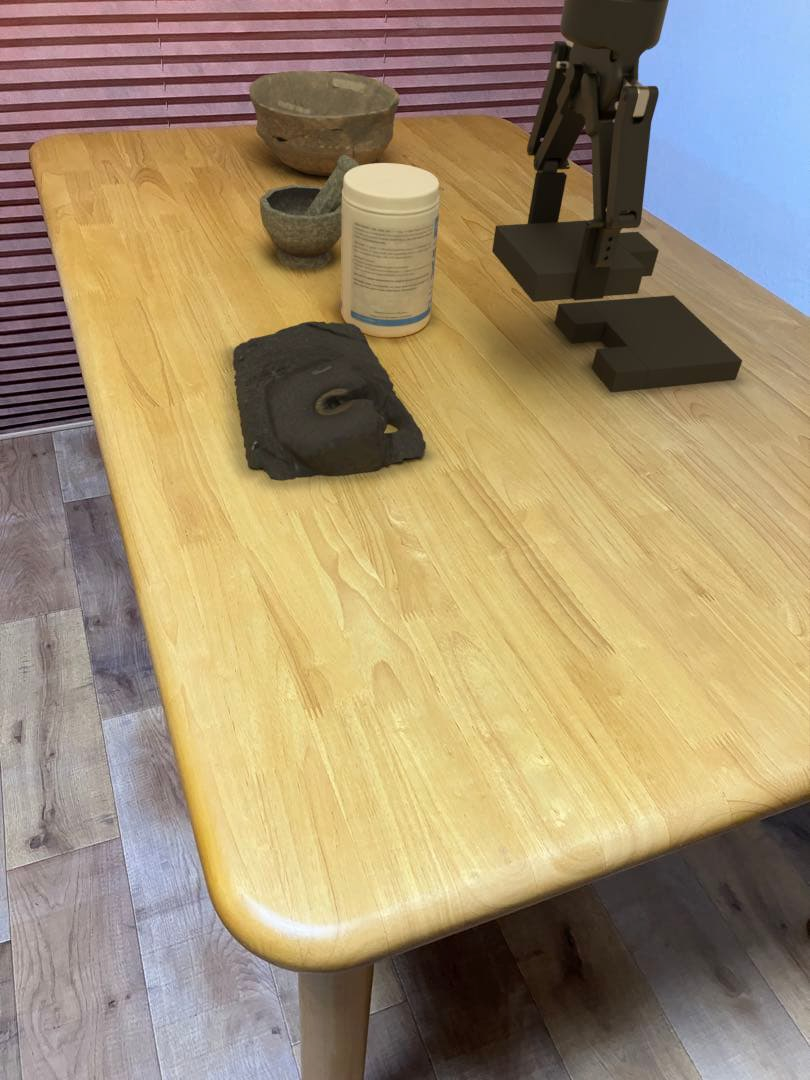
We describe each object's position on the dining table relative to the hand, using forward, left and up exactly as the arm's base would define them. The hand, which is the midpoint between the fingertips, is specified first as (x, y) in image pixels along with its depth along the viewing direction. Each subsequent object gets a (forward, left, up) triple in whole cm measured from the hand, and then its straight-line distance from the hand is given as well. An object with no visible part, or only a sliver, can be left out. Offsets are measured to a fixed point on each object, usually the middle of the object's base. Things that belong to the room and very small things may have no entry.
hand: (561, 269), depth 78 cm
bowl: (+9, -59, -12) cm, 61 cm away
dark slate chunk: (+22, +1, -12) cm, 25 cm away
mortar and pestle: (+17, -29, -12) cm, 36 cm away
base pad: (-13, -3, -11) cm, 17 cm away
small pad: (-2, 0, 0) cm, 2 cm away
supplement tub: (+12, -14, -12) cm, 22 cm away
